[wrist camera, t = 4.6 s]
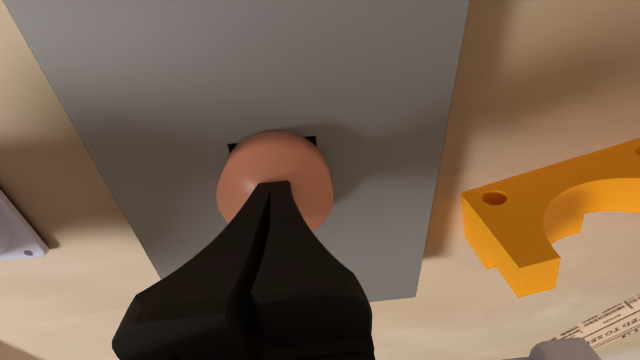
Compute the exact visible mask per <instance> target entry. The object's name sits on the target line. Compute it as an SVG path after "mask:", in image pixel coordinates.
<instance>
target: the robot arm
mask: <svg viewBox="0 0 640 360" xmlns="http://www.w3.org/2000/svg"><path fill="white" fill-rule="evenodd" d="M48 252H49V249H48V247H47V246H46V244H45V243H44V242H43V241H42V240H41V238H40V237H39V236H38V235H37V233H36V232H35V231H34V230H33V229H32V227H31V226H30V225H29V224H28V222H27V221H26V220H25V219H24V218H23V216H22V215H21V214H20V213H19V212H18V210H17V209H16V208H15V207H14V205H13V204H12V203H11V202H10V201H9V199H8V198H7V197H6V196H5V194H4V193H3V192H2V191H1V190H0V261H6V260H16V259H26V258H36V257H43V256H45V255H46V254H47V253H48ZM371 330H372V310H371V307H370V304H369V301H368V299H367V296H366V294H365V292H364V290H363V288H362V286H361V284H360V283H359V281H358V279H357V277H356V276H355V274H354V273H353V272H352V271H350V270H349V269H348V268H346V267H345V266H344V265H343V264H342V263H341V262H339V261H338V260H337V259H336V258H335V257H334V256H333V255H332V254H331V253H330V252H329V251H328V250H327V249H326V248H325V247H324V245H323V244H322V243H321V242H320V241H319V240H318V239H317V237H316V236H315V235H314V233H313V232H312V231H311V229H310V228H309V226H308V225H307V223H306V222H305V220H304V218H303V217H302V215H301V213H300V211H299V209H298V207H297V205H296V203H295V200H294V198H293V195H292V190H291V183H290V182H289V181H288V180H285V181H276V182H265V183H258V185H257V186H256V187H255V189H254V190H253V192H252V193H251V195H250V196H249V198H248V199H247V201H246V202H245V203H244V205H243V206H242V207H241V209H240V210H239V211H238V213H237V214H236V215H235V217H234V218H233V219H232V220H231V221H230V222H229V224H228V225H227V226H226V227H225V228H224V229H223V231H222V232H221V233H220V234H219V235H218V236H217V237H216V238H215V239H214V240H213V241H212V242H211V243H209V244H208V245H207V246H206V247H205V248H204V249H202V250H201V251H200V252H199V253H198V254H196V255H195V256H194V257H193V258H192V259H190V260H189V261H188V262H186V263H185V264H184V265H182V266H181V267H180V268H178V269H177V270H175V271H174V272H172V273H171V274H170V275H168V276H167V277H165V278H164V279H162V280H160V281H159V282H157V283H155V284H154V285H152V286H150V287H149V288H147V289H145V290H144V291H142V292H140V293H139V294H137V295H136V296H135V297H134V299H133V301H132V302H131V304H130V306H129V307H128V309H127V311H126V314H125V316H124V318H123V320H122V322H121V324H120V326H119V328H118V330H117V332H116V334H115V336H114V338H113V340H112V349H113V350H114V352H115V354H116V355H117V357H118V358H119V359H120V360H375V356H374V345H373V340H372V336H371ZM504 360H601V359H600V357H599V356H598V355H597V354H596V353H595V351H594V350H593V349H592V348H591V346H590V345H589V344H588V343H587V341H586V340H585V339H584V338H581V337H577V338H568V339H558V340H549V341H544V342H541V343H539V344H537V345H535V346H534V347H533V348H532V350H531V352H530V355H529V357H522V358H513V359H504Z"/></svg>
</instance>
